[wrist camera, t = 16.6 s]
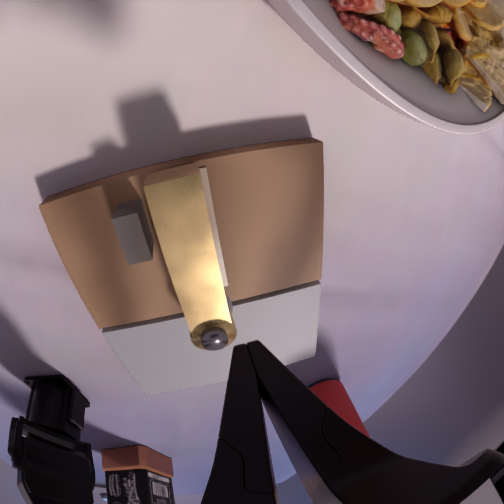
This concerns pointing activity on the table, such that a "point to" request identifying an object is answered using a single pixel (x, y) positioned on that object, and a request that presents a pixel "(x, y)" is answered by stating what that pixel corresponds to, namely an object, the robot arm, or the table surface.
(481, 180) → the table surface
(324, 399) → the beer can
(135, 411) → the table surface
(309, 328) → the board
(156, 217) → the swing bar
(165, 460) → the whiskey bottle
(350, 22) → the bowl
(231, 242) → the door board
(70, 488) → the robot arm
